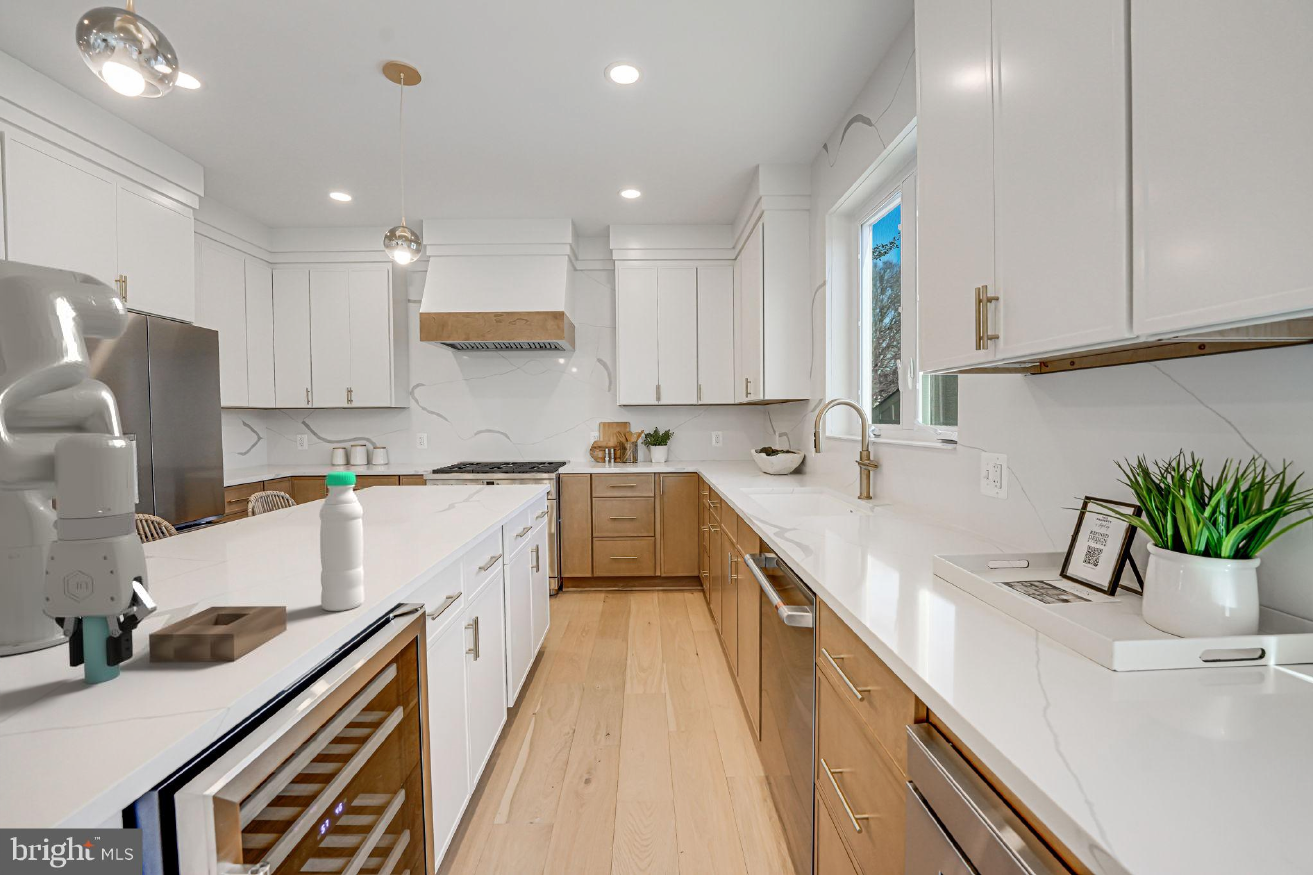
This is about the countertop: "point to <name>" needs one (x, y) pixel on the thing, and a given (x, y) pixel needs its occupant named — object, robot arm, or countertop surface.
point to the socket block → (217, 634)
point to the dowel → (97, 651)
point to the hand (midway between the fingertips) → (102, 660)
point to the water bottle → (341, 545)
